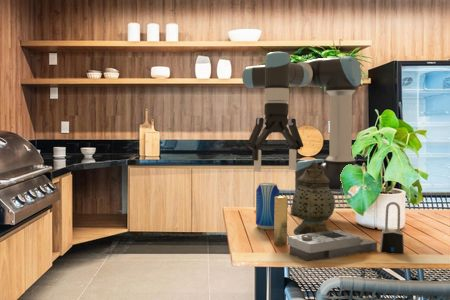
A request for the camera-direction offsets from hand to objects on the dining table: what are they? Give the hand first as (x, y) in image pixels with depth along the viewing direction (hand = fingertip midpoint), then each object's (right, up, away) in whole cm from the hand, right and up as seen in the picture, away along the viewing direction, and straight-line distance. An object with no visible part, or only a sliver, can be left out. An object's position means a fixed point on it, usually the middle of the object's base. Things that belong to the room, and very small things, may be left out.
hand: (275, 170), depth 144 cm
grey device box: (+16, -24, -8) cm, 30 cm away
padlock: (+34, -24, -7) cm, 42 cm away
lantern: (+15, -23, +16) cm, 31 cm away
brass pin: (+2, -23, 0) cm, 23 cm away
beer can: (0, -22, +24) cm, 33 cm away
